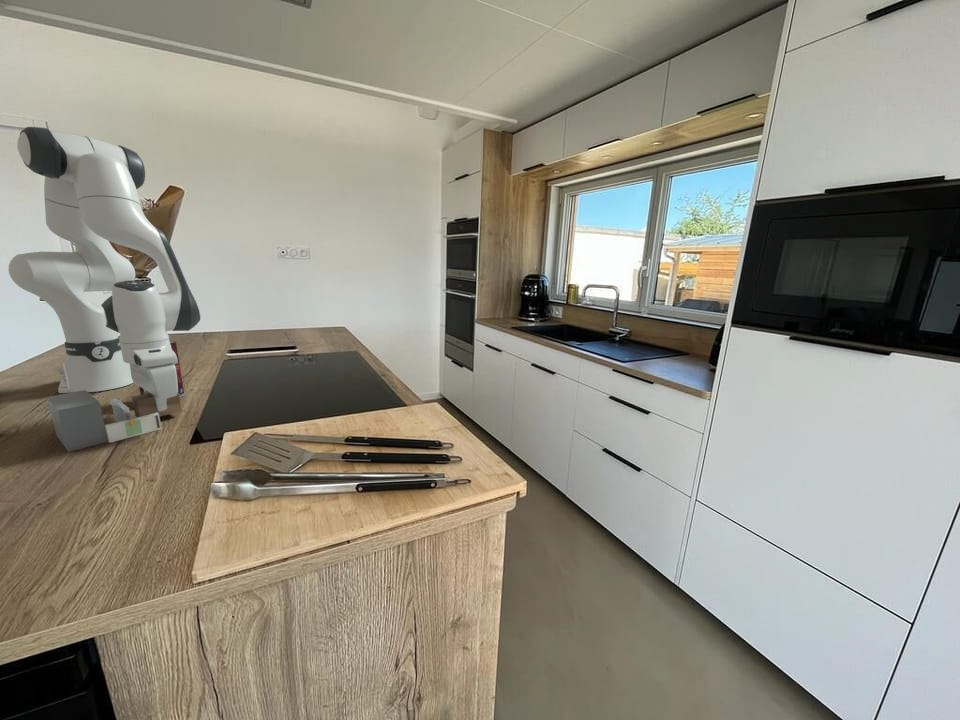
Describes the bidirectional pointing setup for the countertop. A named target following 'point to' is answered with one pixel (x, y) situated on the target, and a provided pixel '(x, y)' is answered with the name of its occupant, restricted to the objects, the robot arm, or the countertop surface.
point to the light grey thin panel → (121, 411)
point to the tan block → (147, 405)
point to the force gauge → (92, 422)
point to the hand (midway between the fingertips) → (157, 407)
